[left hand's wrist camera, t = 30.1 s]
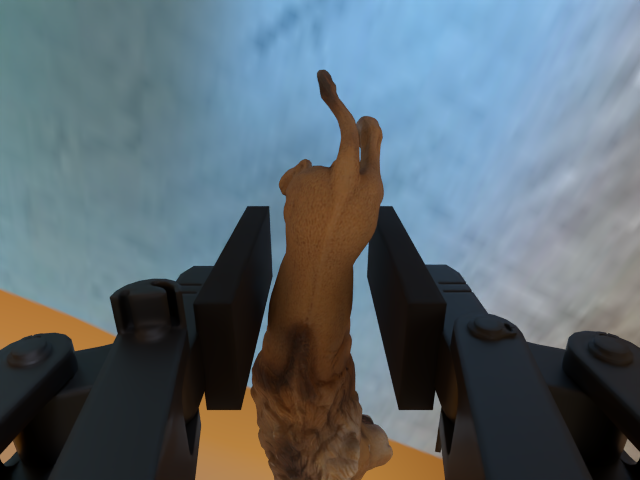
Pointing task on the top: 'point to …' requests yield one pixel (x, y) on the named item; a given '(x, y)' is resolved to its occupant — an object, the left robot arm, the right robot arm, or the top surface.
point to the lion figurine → (320, 314)
